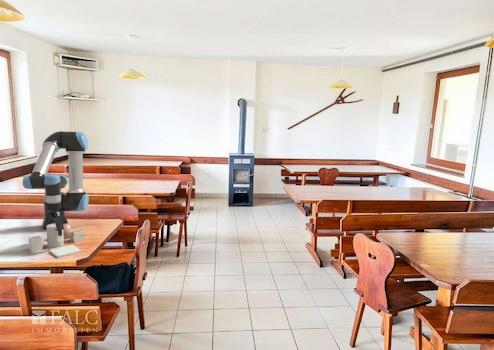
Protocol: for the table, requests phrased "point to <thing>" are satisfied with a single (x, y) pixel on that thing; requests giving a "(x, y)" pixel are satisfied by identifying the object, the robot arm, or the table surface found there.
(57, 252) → the mat
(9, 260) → the table surface
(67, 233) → the terracotta cylinder
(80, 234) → the birch block
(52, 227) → the cup
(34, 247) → the offwhite box
